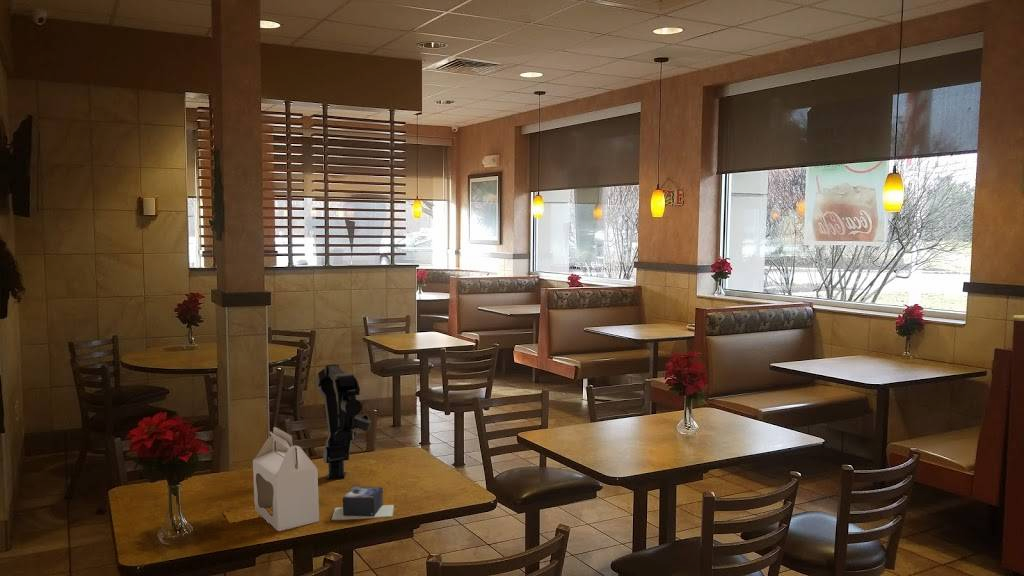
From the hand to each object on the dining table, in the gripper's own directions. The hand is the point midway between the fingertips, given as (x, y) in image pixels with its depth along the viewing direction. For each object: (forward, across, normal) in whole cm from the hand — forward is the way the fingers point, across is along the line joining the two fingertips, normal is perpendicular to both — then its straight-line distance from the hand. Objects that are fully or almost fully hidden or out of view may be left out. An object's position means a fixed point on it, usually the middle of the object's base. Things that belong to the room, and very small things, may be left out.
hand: (347, 454), depth 267 cm
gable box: (+14, -23, +17) cm, 31 cm away
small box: (+10, -16, -8) cm, 21 cm away
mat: (+13, -23, -8) cm, 28 cm away
